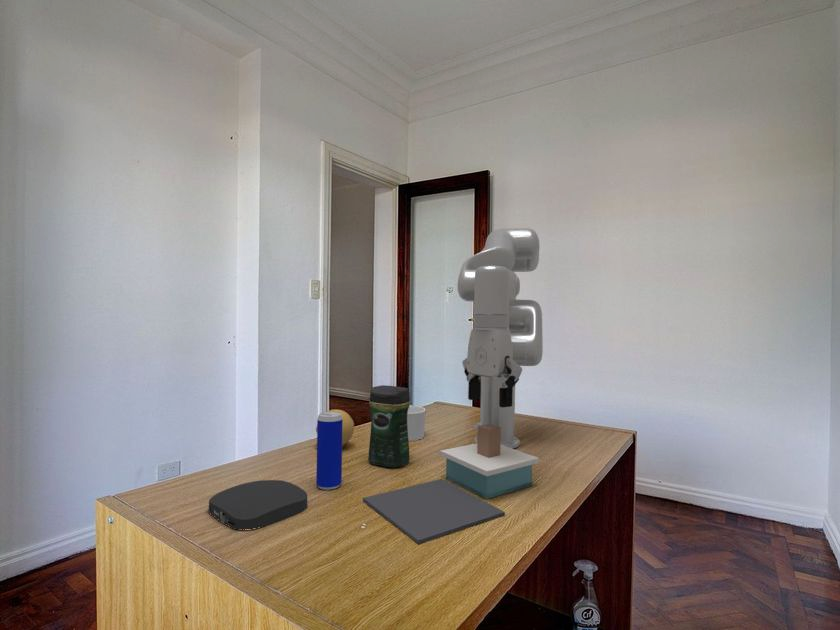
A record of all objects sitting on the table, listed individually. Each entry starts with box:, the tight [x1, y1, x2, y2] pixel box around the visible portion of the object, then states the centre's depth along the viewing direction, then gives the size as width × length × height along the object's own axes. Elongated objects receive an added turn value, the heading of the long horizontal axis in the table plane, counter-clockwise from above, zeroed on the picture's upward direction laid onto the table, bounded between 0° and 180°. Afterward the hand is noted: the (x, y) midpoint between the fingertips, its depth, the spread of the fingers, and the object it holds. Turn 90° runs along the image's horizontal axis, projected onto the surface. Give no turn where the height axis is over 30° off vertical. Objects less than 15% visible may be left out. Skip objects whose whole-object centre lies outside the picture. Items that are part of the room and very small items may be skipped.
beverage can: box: [315, 411, 343, 491], centre depth 94 cm, size 5×5×15 cm
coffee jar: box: [368, 384, 411, 468], centre depth 109 cm, size 10×8×19 cm
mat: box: [362, 478, 506, 545], centre depth 84 cm, size 19×19×1 cm
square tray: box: [445, 458, 533, 500], centre depth 98 cm, size 13×13×5 cm
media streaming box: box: [208, 479, 308, 530], centre depth 83 cm, size 15×15×3 cm
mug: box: [407, 404, 427, 442], centre depth 133 cm, size 13×10×8 cm
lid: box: [439, 424, 540, 476], centre depth 97 cm, size 15×15×7 cm
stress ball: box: [315, 409, 355, 447], centre depth 120 cm, size 10×10×10 cm
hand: (489, 402), depth 97 cm, fingers open, 9 cm apart
